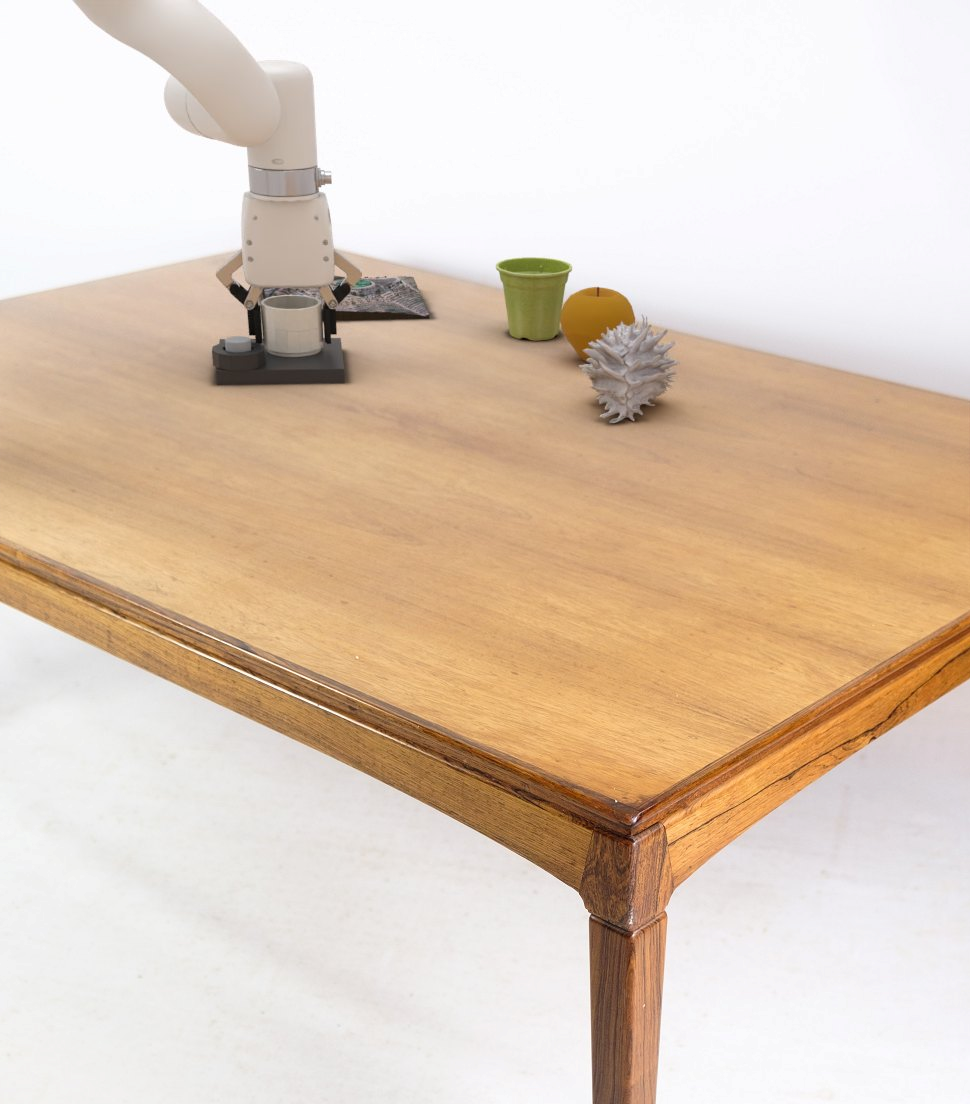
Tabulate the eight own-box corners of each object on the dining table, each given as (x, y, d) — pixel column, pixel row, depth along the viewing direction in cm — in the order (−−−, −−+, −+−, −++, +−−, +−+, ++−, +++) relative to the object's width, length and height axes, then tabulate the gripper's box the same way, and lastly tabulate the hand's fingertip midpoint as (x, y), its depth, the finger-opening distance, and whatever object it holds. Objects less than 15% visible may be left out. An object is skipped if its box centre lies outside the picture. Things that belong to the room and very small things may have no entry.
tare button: (225, 354, 180) (224, 342, 180) (226, 348, 183) (225, 336, 182) (251, 354, 181) (250, 342, 180) (251, 347, 183) (250, 335, 182)
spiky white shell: (659, 415, 185) (565, 432, 180) (642, 317, 183) (547, 331, 178) (709, 407, 175) (611, 425, 170) (693, 303, 173) (593, 319, 168)
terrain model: (268, 323, 204) (266, 297, 203) (262, 295, 217) (260, 270, 216) (429, 319, 209) (428, 293, 207) (414, 291, 222) (413, 267, 220)
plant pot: (514, 348, 199) (514, 276, 195) (484, 329, 206) (484, 259, 202) (583, 341, 203) (585, 271, 199) (551, 323, 210) (552, 254, 206)
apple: (556, 350, 199) (558, 276, 194) (629, 351, 199) (632, 277, 195) (561, 371, 191) (562, 295, 186) (637, 372, 192) (640, 296, 187)
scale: (213, 386, 180) (211, 355, 179) (217, 353, 192) (215, 323, 190) (345, 384, 183) (343, 353, 181) (341, 351, 194) (339, 322, 193)
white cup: (263, 358, 185) (260, 309, 182) (264, 342, 190) (261, 295, 188) (324, 357, 186) (322, 309, 183) (323, 341, 192) (320, 294, 189)
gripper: (362, 176, 184) (368, 331, 193) (204, 175, 181) (217, 333, 189) (365, 188, 178) (371, 349, 186) (201, 188, 175) (215, 351, 183)
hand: (293, 340), depth 188 cm, fingers open, 7 cm apart
